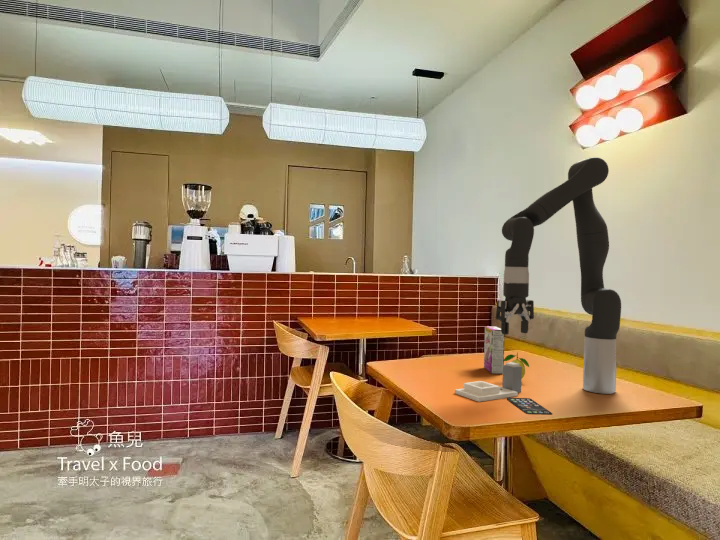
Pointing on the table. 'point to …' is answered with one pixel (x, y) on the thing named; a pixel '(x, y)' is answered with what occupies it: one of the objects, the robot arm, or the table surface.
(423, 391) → the table surface
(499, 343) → the candy bar box
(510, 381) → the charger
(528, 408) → the smartphone
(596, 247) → the robot arm
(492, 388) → the outlet plate
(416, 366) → the table surface
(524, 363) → the lemon
